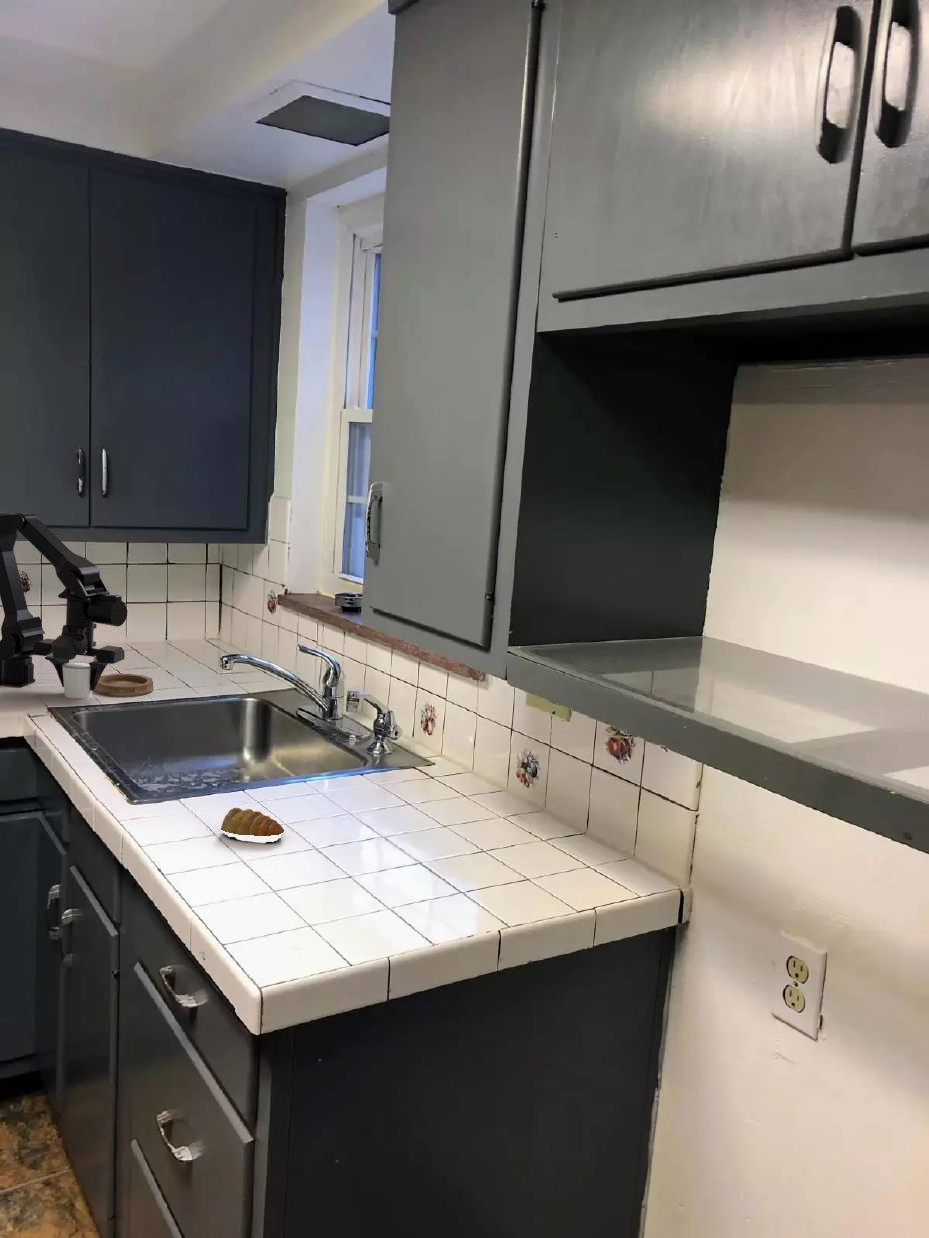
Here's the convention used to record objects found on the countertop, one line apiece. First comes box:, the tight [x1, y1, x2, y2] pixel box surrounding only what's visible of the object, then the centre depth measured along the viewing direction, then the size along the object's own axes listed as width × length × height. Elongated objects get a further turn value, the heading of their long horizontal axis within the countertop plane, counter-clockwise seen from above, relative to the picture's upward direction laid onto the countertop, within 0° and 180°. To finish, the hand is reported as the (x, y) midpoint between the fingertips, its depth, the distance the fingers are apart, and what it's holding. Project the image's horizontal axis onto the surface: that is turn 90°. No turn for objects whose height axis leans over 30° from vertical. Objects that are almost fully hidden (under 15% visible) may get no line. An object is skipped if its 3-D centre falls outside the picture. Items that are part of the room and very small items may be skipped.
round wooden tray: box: [93, 673, 155, 698], centre depth 227 cm, size 13×13×2 cm
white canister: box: [62, 661, 93, 699], centre depth 219 cm, size 7×7×7 cm
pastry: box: [220, 807, 285, 836], centre depth 152 cm, size 9×7×4 cm
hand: (78, 688), depth 219 cm, fingers closed on white canister, 6 cm apart
